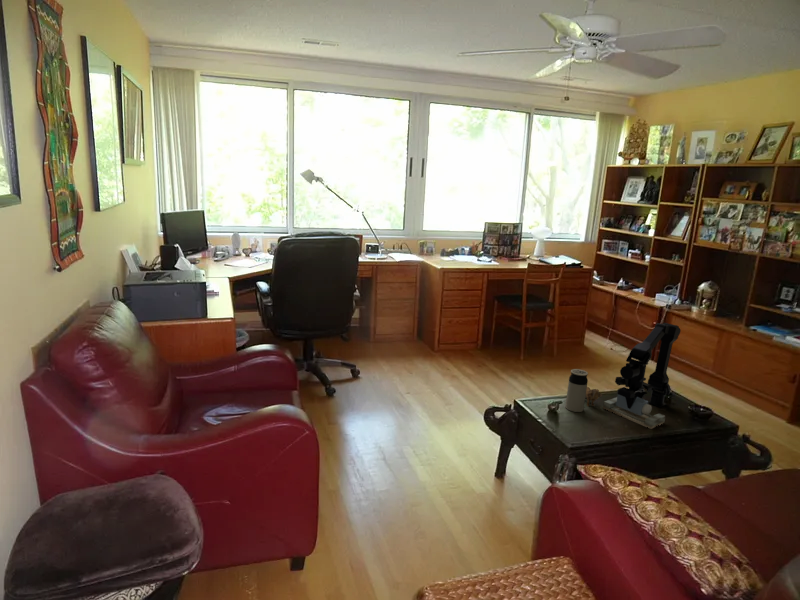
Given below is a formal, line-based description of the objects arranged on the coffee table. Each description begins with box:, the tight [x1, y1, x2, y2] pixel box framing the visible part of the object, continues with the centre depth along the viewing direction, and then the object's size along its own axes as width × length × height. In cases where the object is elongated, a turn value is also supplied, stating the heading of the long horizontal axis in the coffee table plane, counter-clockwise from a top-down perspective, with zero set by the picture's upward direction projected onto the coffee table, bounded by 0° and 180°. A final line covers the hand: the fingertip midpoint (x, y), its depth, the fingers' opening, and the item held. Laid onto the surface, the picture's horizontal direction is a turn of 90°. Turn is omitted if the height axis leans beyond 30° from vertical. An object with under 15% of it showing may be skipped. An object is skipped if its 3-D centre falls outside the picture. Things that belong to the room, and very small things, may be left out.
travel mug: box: [565, 368, 589, 413], centre depth 230 cm, size 8×8×18 cm
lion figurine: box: [585, 386, 603, 407], centre depth 239 cm, size 15×5×9 cm, turn 10°
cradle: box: [602, 396, 666, 430], centre depth 228 cm, size 11×23×4 cm, turn 35°
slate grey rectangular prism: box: [616, 394, 653, 416], centre depth 227 cm, size 4×14×6 cm, turn 35°
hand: (631, 407), depth 228 cm, fingers closed on slate grey rectangular prism, 4 cm apart
